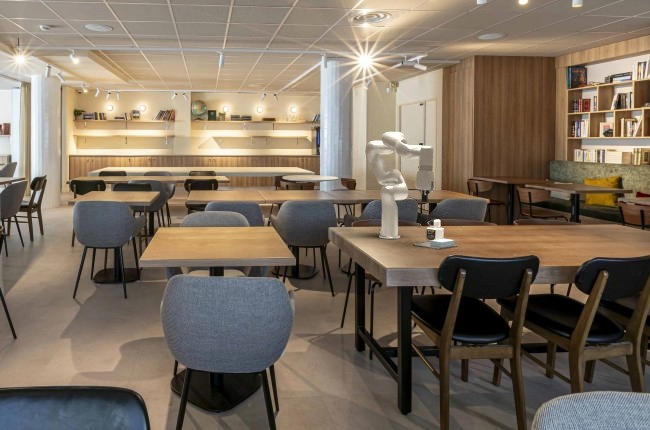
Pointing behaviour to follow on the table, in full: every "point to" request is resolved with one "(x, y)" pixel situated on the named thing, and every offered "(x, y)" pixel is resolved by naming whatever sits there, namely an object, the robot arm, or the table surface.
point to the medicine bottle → (435, 230)
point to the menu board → (442, 243)
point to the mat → (432, 246)
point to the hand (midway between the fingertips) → (424, 201)
